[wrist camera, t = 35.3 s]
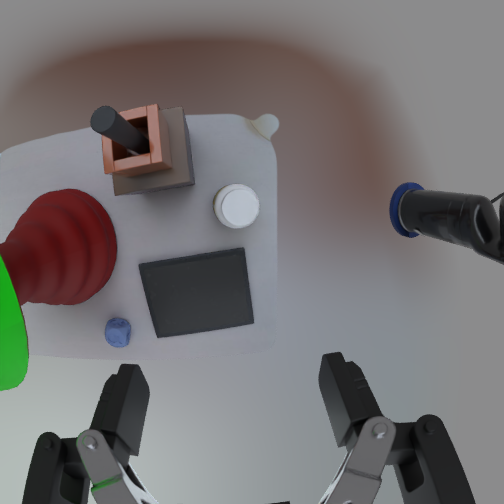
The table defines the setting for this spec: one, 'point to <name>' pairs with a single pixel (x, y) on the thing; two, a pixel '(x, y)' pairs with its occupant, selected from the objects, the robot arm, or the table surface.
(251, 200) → the pill bottle
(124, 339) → the decorative dice
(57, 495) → the robot arm
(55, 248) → the table lamp
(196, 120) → the table surface
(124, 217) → the table surface
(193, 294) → the tablet
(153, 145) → the pen cup
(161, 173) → the stand
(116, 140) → the stylus
